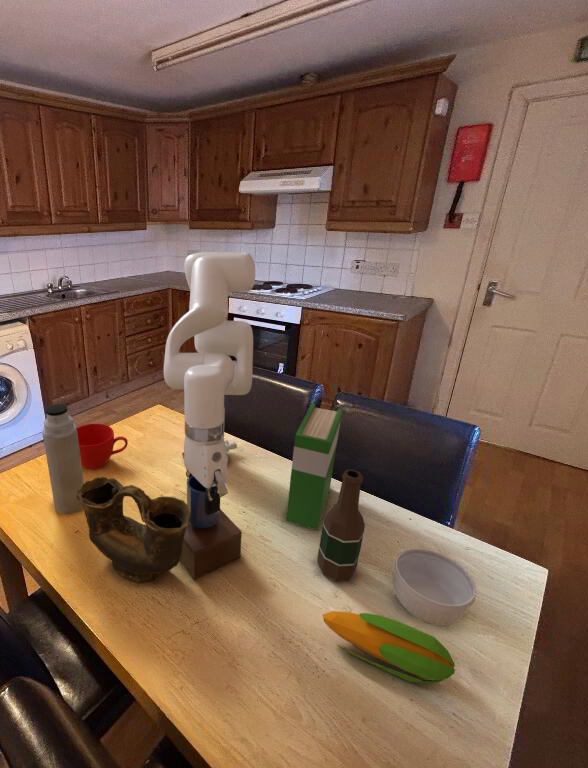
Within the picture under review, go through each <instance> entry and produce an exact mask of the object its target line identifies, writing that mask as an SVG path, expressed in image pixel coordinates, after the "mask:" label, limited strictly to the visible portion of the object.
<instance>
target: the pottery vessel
mask: <svg viewBox="0 0 588 768" xmlns="http://www.w3.org/2000/svg"><path fill="white" fill-rule="evenodd" d="M125 497H129V498H132V500H133V501H134V503H136V506H137V508H138V512H139V515H140V520H141V522H143V523H144V524H143V523H141V522H139V521H138V520H135V519H134V518H132V517H130V516H126V515H124V499H125ZM77 499H78V500H79V501H80V502H81V504H82V505H83V508H82V509H83V512H84V516H85V520H86V523H87V527H88V538H89V540H90V542H91V543H92V544H93V545H94V547H95V548H97V550H98V551H99V552H100V553H102V555H104V556H105V557H106V558H107V559H109V560H110V561H111V566H112V567H113V570H114V571H115V573H116V574H117V575H118V576H119V577H121V578H122V579H124V580H126V581H129V582H132V583H137V584H140V583H148V582H151V581H152V582H153V581H155V580H156V579H157V578H158V577H159V574H162V573H167V572H168V573H169V571H171V570H172V569H174V568H175V567H177V566H178V564H180V562H181V560H180V557H181V553H182V543H183V540H184V535H185V530H186V528H187V526H188V522H189V520H190V517H191V516H190V510H189V508H188V505H187V502H185V501H184V500H182V499H180V498H177V497H174V496H165V495H164V496H163V495H162V496H157V497H156V498H151V497H150V496H149V495H147V494H146V493H145V491H144V490H143V489H142V488H140V487H138V486H137V485H136V486H135V485H133V484H130V485H125V486H124V485H123V484H122V483H121V482H119V480H118V479H116V478H114V477H106V476H97V477H94V478H93V479H91V480H86V481H84V484H83V485H82V488H81V489H80V490H78V494H77Z"/></svg>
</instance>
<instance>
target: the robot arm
mask: <svg viewBox="0 0 588 768" xmlns="http://www.w3.org/2000/svg"><path fill="white" fill-rule="evenodd" d="M183 265H184V266H183V268H184V276H185V278H186V282H187V286H188V288H189V293H190V294H189V306H188V307H189V308H188V311H187V312H186V313H185V314H183V315H182V317H180V318H179V319H178V320H177V321H176V323H175V324H174V325H173V327H172V328H171V330H170V331H169V333H168V336H167V338H166V342H165V349H164V350H165V351H164V359H163V360H164V361H163V379H164V382H165V384H166V386H168V387H169V388H171V389H173V390H183V391H184V394H183V395H184V397H183V398H184V400H183V401H184V402H183V403H184V405H183V407H184V440H183V452H182V453H181V454H182V459H183V464H184V467H185V470H186V472H185V476H186V481H187V480H188V478H189V477H191V476H192V475H193V476H194V477H195V478H196V479H197V480H198V481H199V482H200V483H201V484H202V485H203V486H204V487H205V488H206V493H207V497H208V498H206V506H205V513H206V515H211V514H213V513H216V512H218V511H220V509H221V498H223V497H225V496H226V495H227V494H229V490H228V488H227V486H226V484H227V481H228V463H229V453H228V452H230V450H234V449H237V448H238V444H237V442H236V441H231V442H230V443H229V440H228V439H225V420H226V419H225V418H226V417H225V415H226V408H225V396H245V395H247V394H249V393H250V392H251V389H252V385H253V366H254V365H253V362H254V333H253V329H252V325H250V323H248V322H247V321H245V320H227V318H228V314H229V304H228V303H229V293H247V292H250V291H252V289H253V288H254V285H255V281H256V273H257V272H256V264H255V260H254V258H253V256H252V255H251V254H250V253H249V252H247V251H223V252H222V251H203V252H195V253H192V254H188V256H187V257H186V258H185V260H184V264H183ZM193 337H194V348H195V351H196V352H180V349H181V347H182V345H184V343H185V342H186V341H188V340H190V339H192V338H193ZM231 357H234V358H235V359H236V360H232V358H231ZM213 480H214V481H215V482H213ZM214 486H215V488H216V492H215V493H213V494H212V492H211V488H212V487H214Z"/></svg>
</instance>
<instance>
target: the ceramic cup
mask: <svg viewBox="0 0 588 768" xmlns="http://www.w3.org/2000/svg"><path fill="white" fill-rule="evenodd" d="M77 434H78V442H79V450H80V458H81V465H82V467H84V468H86V469H88V470H96V469H97V470H98V469H101V468H102V467H104V466H105V465H106V463H108V461H109V460H110V458H111V456H112V455H116V454H119V453H122V452H123V451H125V449H127V447H128V443H129V441H128V439H127V438H126V437H125V436H116V437H115V431H114V429H113V428H112V427H111V426H109V425H108V424H104V423H88V424H84V425H83V424H82V425H80V426H78V427H77ZM118 441H124V443H125V444H124V445H123V446H122V447H121V448H118V449H116V450H114V446H115V444H116V443H117V442H118Z"/></svg>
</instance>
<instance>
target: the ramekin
mask: <svg viewBox="0 0 588 768" xmlns="http://www.w3.org/2000/svg"><path fill="white" fill-rule="evenodd" d="M393 572H394V573H393V575H394V576H393V591H394V594H395V597H396V599H397V600H398V601H399V603H400V604H401V605H402V607H403V608H404V609H405V610H406V611H407V612H408V613H410V614H411V615H412V616H414V617H415V618H416V619H418V620H420V621H422V622H424V623H427V624H429V625H434V626H451V625H454V624H456V623H458V622H459V621H460V620H461V619H462V618H463V617H464V616H465V614H466V612H467V611H468V610H469V608H470V607H471V606H472V605H473V604H474V602H475V599H476V597H477V586H476V584H475V582H474V579H473V577H472V575H470V573H469V571H467V570H466V569H465V568H464V567H463V566H462V565H461V564H460V563H458V562H457V561H455V560H454V559H452V558H451V557H449V556H447V555H446V554H443V553H440V552H438V551H435V550H431V549H429V548H421V547H412V548H408V549H404V550H402V551H401V552H399V553H398V554H397V555H396V558H395V560H394V562H393Z"/></svg>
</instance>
